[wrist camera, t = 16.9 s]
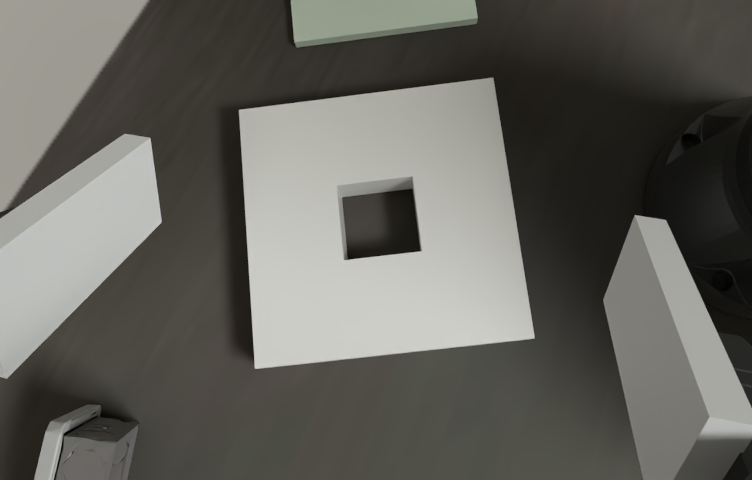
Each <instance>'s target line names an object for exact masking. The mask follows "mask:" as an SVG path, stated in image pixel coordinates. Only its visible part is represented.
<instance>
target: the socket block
mask: <svg viewBox="0 0 752 480" xmlns="http://www.w3.org/2000/svg"><path fill="white" fill-rule="evenodd" d="M239 120H240V136H241V152H242V169H243V185H244V201H245V217H246V233H247V249H248V265H249V281H250V297H251V313H252V329H253V345H254V361H255V369H259V368H271V367H280V366H290V365H299V364H308V363H317V362H326V361H336V360H345V359H354V358H363V357H373V356H382V355H391V354H400V353H409V352H419V351H428V350H437V349H446V348H455V347H465V346H474V345H483V344H492V343H501V342H511V341H520V340H528V339H534V338H535V337H534V331H533V324H532V318H531V312H530V306H529V299H528V293H527V287H526V280H525V274H524V268H523V262H522V255H521V249H520V243H519V236H518V230H517V224H516V217H515V211H514V205H513V199H512V192H511V186H510V180H509V173H508V167H507V161H506V154H505V148H504V142H503V136H502V129H501V123H500V117H499V110H498V104H497V98H496V91H495V85H494V79H493V78H486V79H478V80H470V81H462V82H454V83H447V84H439V85H431V86H423V87H415V88H407V89H399V90H392V91H384V92H376V93H368V94H360V95H352V96H344V97H336V98H329V99H321V100H313V101H305V102H297V103H289V104H281V105H274V106H266V107H258V108H250V109H242V110H239ZM406 189H413V196H414V204H415V212H416V220H417V228H418V236H419V244H420V251H419V252H411V253H402V254H394V255H385V256H376V257H368V258H359V259H350V260H348V255H347V244H346V234H345V224H344V214H343V203H342V197H348V196H356V195H365V194H373V193H381V192H390V191H398V190H406Z"/></svg>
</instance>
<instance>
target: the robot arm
mask: <svg viewBox="0 0 752 480" xmlns="http://www.w3.org/2000/svg"><path fill="white" fill-rule="evenodd" d="M161 223H162V220H161V213H160V205H159V198H158V191H157V183H156V176H155V168H154V161H153V154H152V146H151V139H150V138H148V137H142V136H136V135H129V134H124V135H122V136H121V137H119V138H118V139H116V140H115V141H113V142H112V143H111V144H109V145H108V146H106V147H105V148H103V149H102V150H100V151H99V152H97V153H96V154H94V155H93V156H91V157H90V158H89V159H87V160H86V161H84V162H83V163H81V164H80V165H78V166H77V167H75V168H74V169H72V170H71V171H69V172H68V173H66V174H65V175H64V176H62V177H61V178H59V179H58V180H56V181H55V182H53V183H52V184H50V185H49V186H47V187H46V188H44V189H43V190H42V191H40V192H39V193H37V194H36V195H34V196H33V197H31V198H30V199H28V200H27V201H25V202H24V203H22V204H21V205H19V206H18V207H17V208H11V209H8V210H5V211H3V212H0V377H2V378H8V377H9V376H10V375H11V374H12V373H13V372H14V371H15V370H16V369H17V368H18V367H19V366H20V365H21V364H22V363H23V362H24V361H25V360H26V359H27V358H28V357H29V356H30V355H31V354H32V353H33V352H34V351H35V350H36V349H37V348H38V347H39V346H40V345H41V344H42V343H43V342H44V341H45V340H46V339H47V338H48V337H49V336H50V335H51V334H52V333H53V332H54V331H55V330H56V329H57V327H58V326H59V325H60V324H61V323H62V322H63V321H64V320H65V319H66V318H67V317H68V316H69V315H70V314H71V313H72V312H73V311H74V310H75V309H76V308H77V307H78V306H79V305H80V304H81V303H82V302H83V301H84V300H85V299H86V298H87V297H88V296H89V295H90V294H91V293H92V292H93V291H94V290H95V289H96V288H97V287H98V286H99V285H100V284H101V283H102V282H103V281H104V280H105V279H106V278H107V277H108V276H109V275H110V274H111V273H112V272H113V271H114V270H115V269H116V268H117V267H118V266H119V265H120V264H121V263H122V262H123V261H124V260H125V259H126V258H127V257H128V256H129V255H130V254H131V253H132V252H133V251H134V250H135V249H136V248H137V247H138V246H139V245H140V244H141V243H142V242H143V241H144V240H145V239H146V238H147V237H148V236H149V235H150V234H151V233H152V232H153V231H154V230H155V229H156V228H157V227H158V226H159V225H160V224H161ZM603 302H604V306H605V311H606V315H607V320H608V324H609V329H610V333H611V338H612V342H613V346H614V351H615V355H616V360H617V364H618V369H619V373H620V378H621V382H622V387H623V391H624V396H625V400H626V405H627V409H628V414H629V418H630V423H631V427H632V432H633V436H634V441H635V445H636V450H637V454H638V458H639V463H640V467H641V472H642V476H643V480H752V346H751V345H750V344H749V343H748V342H747V341H746V340H745V339H744V338H743V337H742V336H738V335H732V334H727V333H721V332H717V331H716V329H715V326H714V324H713V322H712V320H711V318H710V315H709V313H708V311H707V309H706V307H705V304H704V302H705V303H706V304H708V305H710V306H712V307H714V308H716V309H718V310H721V311H723V312H726V313H728V314H731V315H735V316H738V317H742V318H747V319H752V96H751V97H746V98H742V99H737V100H733V101H730V102H727V103H724V104H721V105H719V106H716V107H714V108H712V109H710V110H708V111H706V112H704V113H703V114H701V115H699V116H698V117H696V118H695V119H693V120H692V121H691V122H690V123H688V124H687V125H686V126H685V127H684V128H683V129H681V130H680V131H679V132H678V133H677V134H675V135H674V136H673V137H672V138H671V139H670V140H669V141H668V143H667V144H666V145H665V146H664V147H663V149H662V150H661V151H660V153H659V155H658V156H657V158H656V160H655V162H654V164H653V166H652V168H651V171H650V174H649V177H648V180H647V184H646V190H645V217H644V216H638V215H635V216H634V218H633V221H632V224H631V226H630V229H629V232H628V234H627V237H626V240H625V243H624V245H623V248H622V251H621V253H620V256H619V259H618V261H617V264H616V267H615V269H614V272H613V275H612V278H611V280H610V283H609V286H608V288H607V291H606V294H605V296H604V299H603Z"/></svg>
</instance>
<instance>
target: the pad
mask: <svg viewBox="0 0 752 480" xmlns="http://www.w3.org/2000/svg"><path fill="white" fill-rule="evenodd" d="M291 10H292V21H293V33H294V43H295V45H296V48H297V47H305V46H313V45H320V44H328V43H335V42H343V41H351V40H358V39H366V38H374V37H381V36H389V35H396V34H404V33H412V32H419V31H427V30H435V29H442V28H450V27H458V26H465V25H473V24H477V20H478V16H477V10H476V3H475V0H291Z"/></svg>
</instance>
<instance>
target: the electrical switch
mask: <svg viewBox="0 0 752 480" xmlns="http://www.w3.org/2000/svg"><path fill="white" fill-rule="evenodd" d="M100 414H101V405H88V404H87V405H85V406H83V407H81V408H79V409H76V410H74V411H72V412H70V413H68V414H65V415H63V416H61V417H59V418H57V419H54V420H52V421H50V423H49V425H48V428H47V430H46V432H45V436H44V440H43V444H42V448H41V452H40V457H39V461H38V465H37V469H36V473H35V478H34V480H127V479H128V474H129V469H130V464H131V460H132V455H133V450H134V445H135V440H136V436H137V431H138V425H139V423H134V422H124V421H121V420H120V419H111V418H103V417H100ZM127 444H128V446H129V447H128V446H127ZM124 456H125V457H124ZM123 457H124V459H123ZM122 459H123V461H121V460H122ZM120 461H121V462H120ZM114 464H115V465H114ZM112 465H113V466H112Z"/></svg>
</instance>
